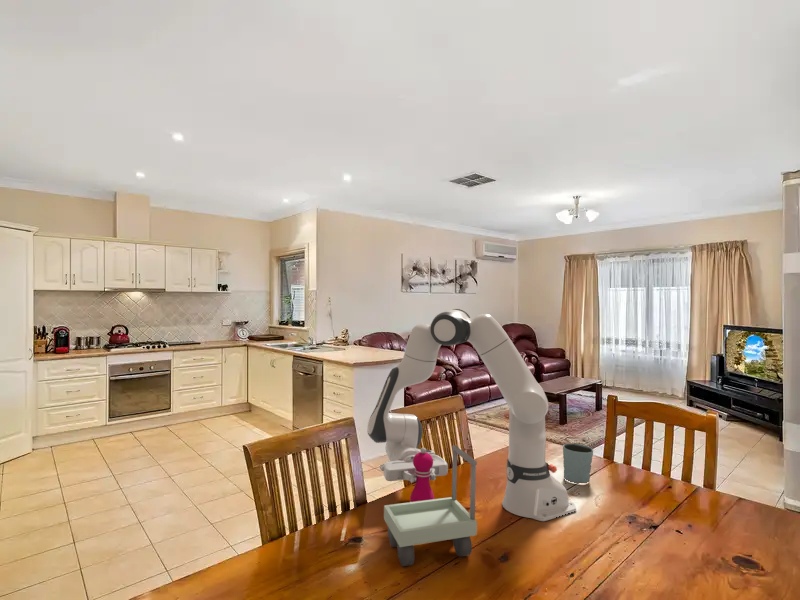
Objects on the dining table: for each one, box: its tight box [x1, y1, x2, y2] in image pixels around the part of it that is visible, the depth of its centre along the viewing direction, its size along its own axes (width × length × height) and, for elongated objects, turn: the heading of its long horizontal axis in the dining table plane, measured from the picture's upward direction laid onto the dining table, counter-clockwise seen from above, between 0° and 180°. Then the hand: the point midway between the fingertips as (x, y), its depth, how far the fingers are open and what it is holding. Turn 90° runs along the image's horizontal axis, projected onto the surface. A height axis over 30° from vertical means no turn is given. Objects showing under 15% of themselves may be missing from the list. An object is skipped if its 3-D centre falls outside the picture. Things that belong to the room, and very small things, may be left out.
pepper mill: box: [409, 447, 435, 502], centre depth 133 cm, size 7×7×20 cm
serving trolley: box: [383, 444, 478, 567], centre depth 114 cm, size 20×14×24 cm
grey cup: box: [562, 443, 594, 483], centre depth 160 cm, size 10×10×12 cm
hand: (423, 478), depth 132 cm, fingers closed on pepper mill, 5 cm apart
